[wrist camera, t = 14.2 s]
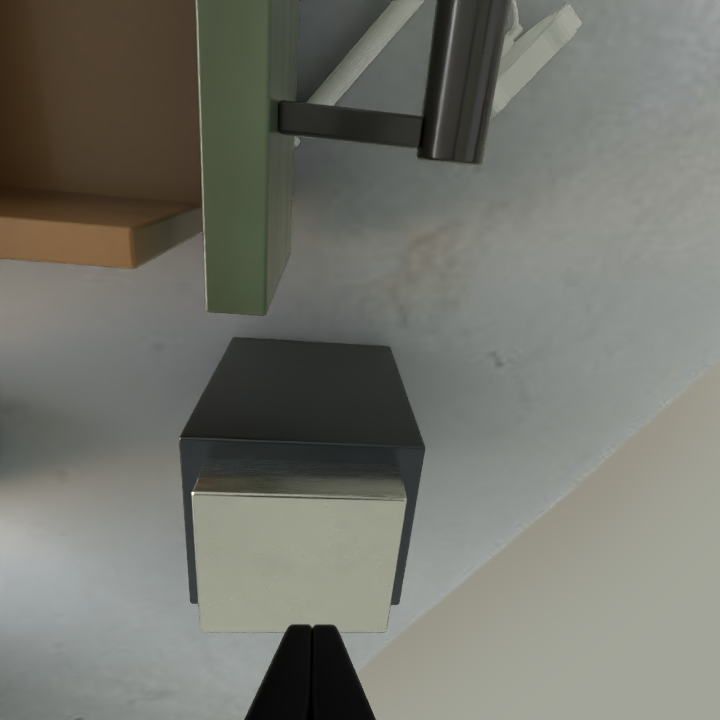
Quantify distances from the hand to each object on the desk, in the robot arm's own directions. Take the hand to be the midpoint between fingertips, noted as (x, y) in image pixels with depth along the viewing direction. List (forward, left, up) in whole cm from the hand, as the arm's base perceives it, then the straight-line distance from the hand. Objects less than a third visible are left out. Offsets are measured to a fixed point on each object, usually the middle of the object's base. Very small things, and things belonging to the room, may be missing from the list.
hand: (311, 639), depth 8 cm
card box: (0, +1, -11) cm, 11 cm away
